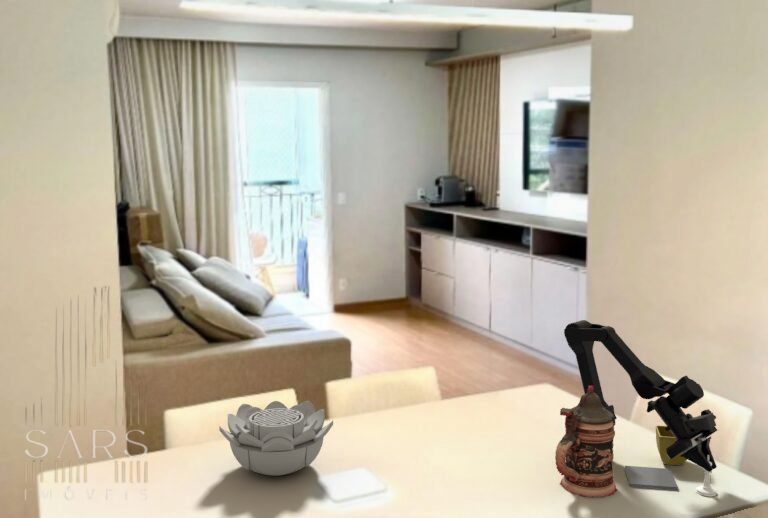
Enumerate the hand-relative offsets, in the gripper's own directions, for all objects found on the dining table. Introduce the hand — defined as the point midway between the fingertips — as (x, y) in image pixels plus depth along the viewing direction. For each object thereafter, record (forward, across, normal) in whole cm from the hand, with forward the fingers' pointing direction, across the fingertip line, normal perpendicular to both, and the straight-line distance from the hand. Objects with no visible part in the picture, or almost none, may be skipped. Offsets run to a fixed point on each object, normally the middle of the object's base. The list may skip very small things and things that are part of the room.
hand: (713, 469), depth 205 cm
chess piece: (+4, 0, +6) cm, 7 cm away
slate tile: (-6, -3, +16) cm, 17 cm away
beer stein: (-13, -19, +23) cm, 33 cm away
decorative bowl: (-60, -70, +70) cm, 115 cm away
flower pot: (-7, +12, +17) cm, 22 cm away
